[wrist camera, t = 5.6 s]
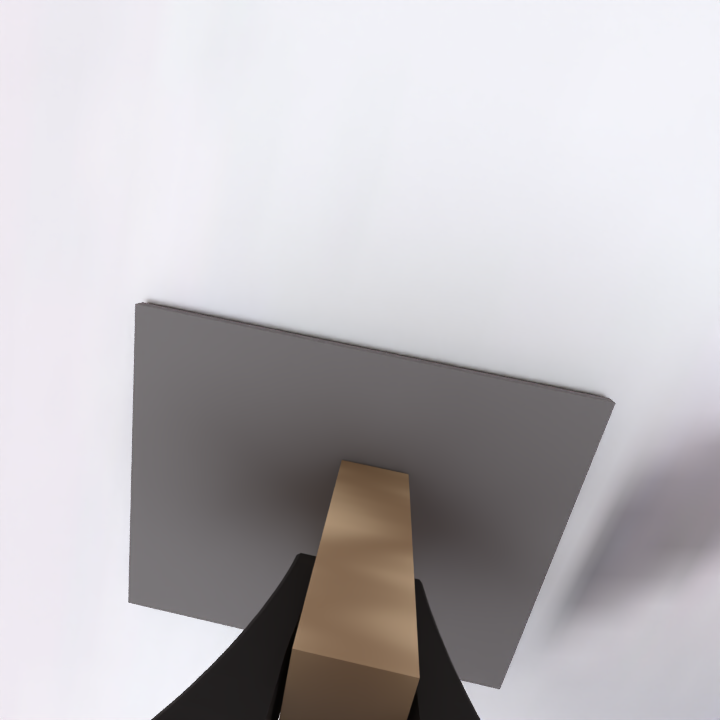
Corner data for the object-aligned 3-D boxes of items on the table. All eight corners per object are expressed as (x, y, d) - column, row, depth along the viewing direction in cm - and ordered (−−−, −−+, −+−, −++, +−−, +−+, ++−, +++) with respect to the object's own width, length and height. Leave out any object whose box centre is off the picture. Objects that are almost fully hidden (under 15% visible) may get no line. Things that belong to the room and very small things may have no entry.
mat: (609, 398, 13) (615, 403, 13) (497, 679, 17) (499, 689, 17) (142, 302, 14) (135, 304, 13) (134, 594, 18) (128, 602, 17)
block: (408, 474, 14) (419, 678, 7) (380, 586, 15) (367, 846, 9) (341, 459, 14) (292, 648, 7) (319, 573, 16) (260, 819, 9)
